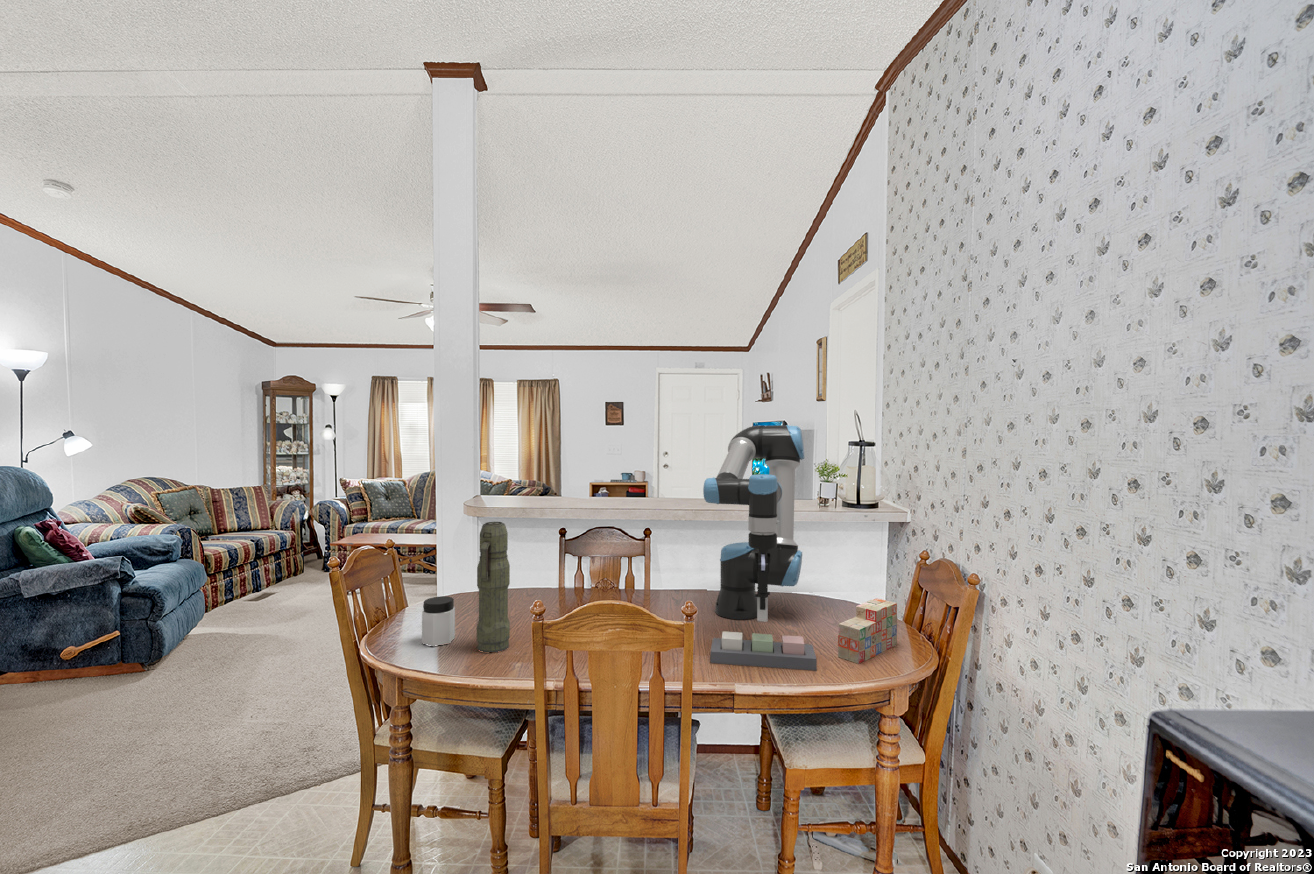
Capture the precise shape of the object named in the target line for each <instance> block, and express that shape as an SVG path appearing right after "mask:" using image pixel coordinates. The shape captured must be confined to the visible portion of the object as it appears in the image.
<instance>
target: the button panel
mask: <svg viewBox="0 0 1314 874" xmlns="http://www.w3.org/2000/svg"><path fill="white" fill-rule="evenodd" d="M710 646H711V647H710V653H709V654H710V656H709V657H710V662H709V663H710V664H723V665H733V666H735V665H736V666H748V667H762V668H772V669H773V668H775V669H776V668H777V669H788V670H790V669H791V670H803V671H814V672H815V671H816V672H817V669H818V667H817V656H816V652H815V650H814V649H815V648H814V646H813V643H810V644H809V643H804V655H796V654H782V641H773V653H767V652H752V639H742V651H738V650H723V649H722V637H721V638H720V637H712V641H711V645H710Z"/></svg>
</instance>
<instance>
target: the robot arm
mask: <svg viewBox="0 0 1314 874" xmlns="http://www.w3.org/2000/svg"><path fill="white" fill-rule="evenodd" d="M803 441H804V439H803V434H802V430H801V428H800V427H799V426H797V425H788V424H786V425H785V424H784V425H783V424H782V425H759V424H758V425H752V426H749V427H746V428H745V429H743V430H740V431H739V432H738V433H737V434H735V435H734V436H733V437H732V438H731V439H730V441H729V443H728V446H727V452H728V453H727V454H726V456H725V459H724V460H723V463H722V464H721V467H720V469H719V472H718V474H717V476H716V477H714V476H713V477H707V478H706V479H705V480H704V482H703V489H702V490H703V499H704V501H705V502H706V503H708V504H715V505H739V506H748V516H747V518H748V522H747V523H748V528H747V529H748V531H749V533H748V542H747V541H746V542H745V541H744V542H735V543H730V544H725V545H724V546H723V547H722V548H721V550H720V559H719V562H720V587H719V589H720V590H719V593H718V596H717V599H716V602H715V606H714V607H715V608H714V610H715V614H716V615H717V616H720V617H722V618H724V619H725V618H726V619H729V620H743V621H744V620H752V619H756V620H757V622H763V623H764V622H765V623H766V622H769V621H768V620H769V619H768V616H769V615H768V614H769V613H768V612H769V610H768V609H769V602H768V601H769V600H768V599H769V596H771V592H770V591H768V588H769V586H779V587H795V586H797V584H798V583H799V579H800V574H801V568H802V563H803V551H802V550H799V545H798V544H797V543H796V541H795V540H794V534H795V533H794V529H795V527H794V525H795V523H794V522H795V518H794V517H795V494H796V493H795V490H796V489H795V488H796V486H795V485H796V483H795V482H796V479H795V478H796V469H797V468H798V467H799V466H800V465H801V464H800V463H801V461H802V460H804V459H805V449H804V442H803ZM753 459H762V460H763V459H764V460H765V461H764V462H765V463H764V464H766V466H767V467H768V468H769V474H767V473H766V474H761V473H760V474H759V473H758V474H751V475H750V476H749V477H748V478H744V476H745V474H746V471H747V468H748V465H749V463H750V462H751V461H752V460H753ZM756 585H757V587H756ZM756 590H757V591H756ZM756 592H757V593H756Z"/></svg>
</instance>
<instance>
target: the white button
mask: <svg viewBox="0 0 1314 874" xmlns="http://www.w3.org/2000/svg"><path fill="white" fill-rule="evenodd" d="M721 633H722V635H721V638H722V649H723V650H738V651H742V640H743V632H738V631H724V630H723V631H722V632H721Z"/></svg>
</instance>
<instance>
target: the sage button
mask: <svg viewBox="0 0 1314 874" xmlns="http://www.w3.org/2000/svg"><path fill="white" fill-rule="evenodd" d="M751 640H752V652H767V653H773V642H774V639H773V634H770V633H768V634H767V633H757V632H756V633H754V632H753V633H751Z"/></svg>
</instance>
